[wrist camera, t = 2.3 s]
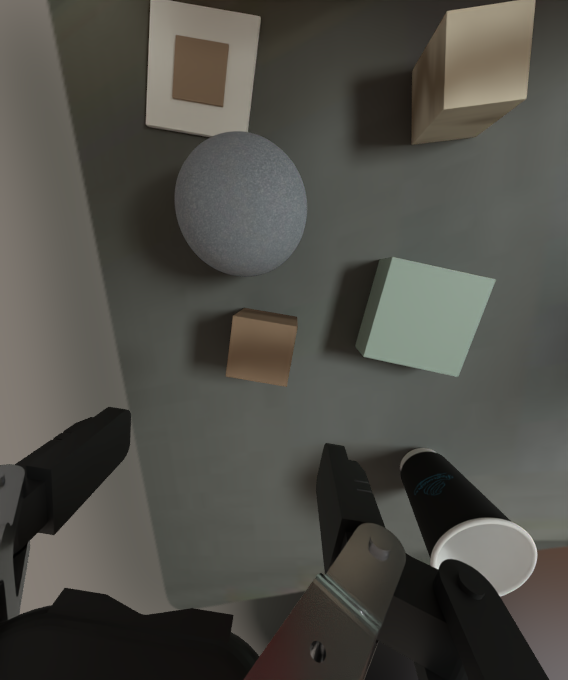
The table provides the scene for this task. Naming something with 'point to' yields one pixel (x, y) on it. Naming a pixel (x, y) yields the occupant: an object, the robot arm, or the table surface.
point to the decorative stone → (240, 203)
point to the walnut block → (261, 346)
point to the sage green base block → (422, 315)
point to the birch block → (472, 71)
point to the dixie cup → (465, 522)
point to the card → (200, 68)
